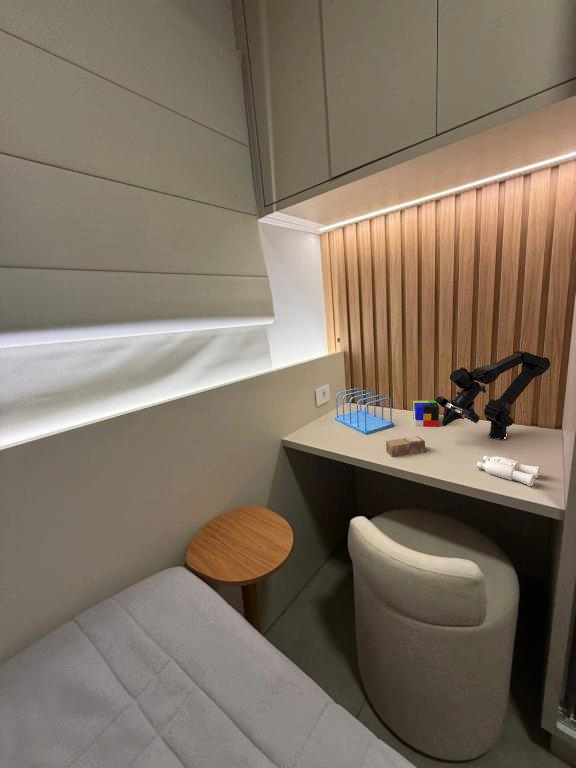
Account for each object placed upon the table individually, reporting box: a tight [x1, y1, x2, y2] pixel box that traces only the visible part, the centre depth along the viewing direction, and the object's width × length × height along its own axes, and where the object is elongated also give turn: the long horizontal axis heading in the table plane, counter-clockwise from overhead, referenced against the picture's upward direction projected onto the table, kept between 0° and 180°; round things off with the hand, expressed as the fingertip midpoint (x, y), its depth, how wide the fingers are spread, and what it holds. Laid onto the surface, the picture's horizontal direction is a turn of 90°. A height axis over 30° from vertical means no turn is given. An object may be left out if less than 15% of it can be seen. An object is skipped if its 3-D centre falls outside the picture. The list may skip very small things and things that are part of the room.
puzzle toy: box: [412, 400, 440, 428], centre depth 156 cm, size 10×10×10 cm
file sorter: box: [334, 387, 394, 436], centre depth 161 cm, size 25×17×15 cm
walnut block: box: [385, 435, 426, 458], centre depth 129 cm, size 5×5×14 cm
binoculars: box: [476, 455, 541, 487], centre depth 108 cm, size 10×16×5 cm, turn 40°
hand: (443, 425), depth 130 cm, fingers closed
